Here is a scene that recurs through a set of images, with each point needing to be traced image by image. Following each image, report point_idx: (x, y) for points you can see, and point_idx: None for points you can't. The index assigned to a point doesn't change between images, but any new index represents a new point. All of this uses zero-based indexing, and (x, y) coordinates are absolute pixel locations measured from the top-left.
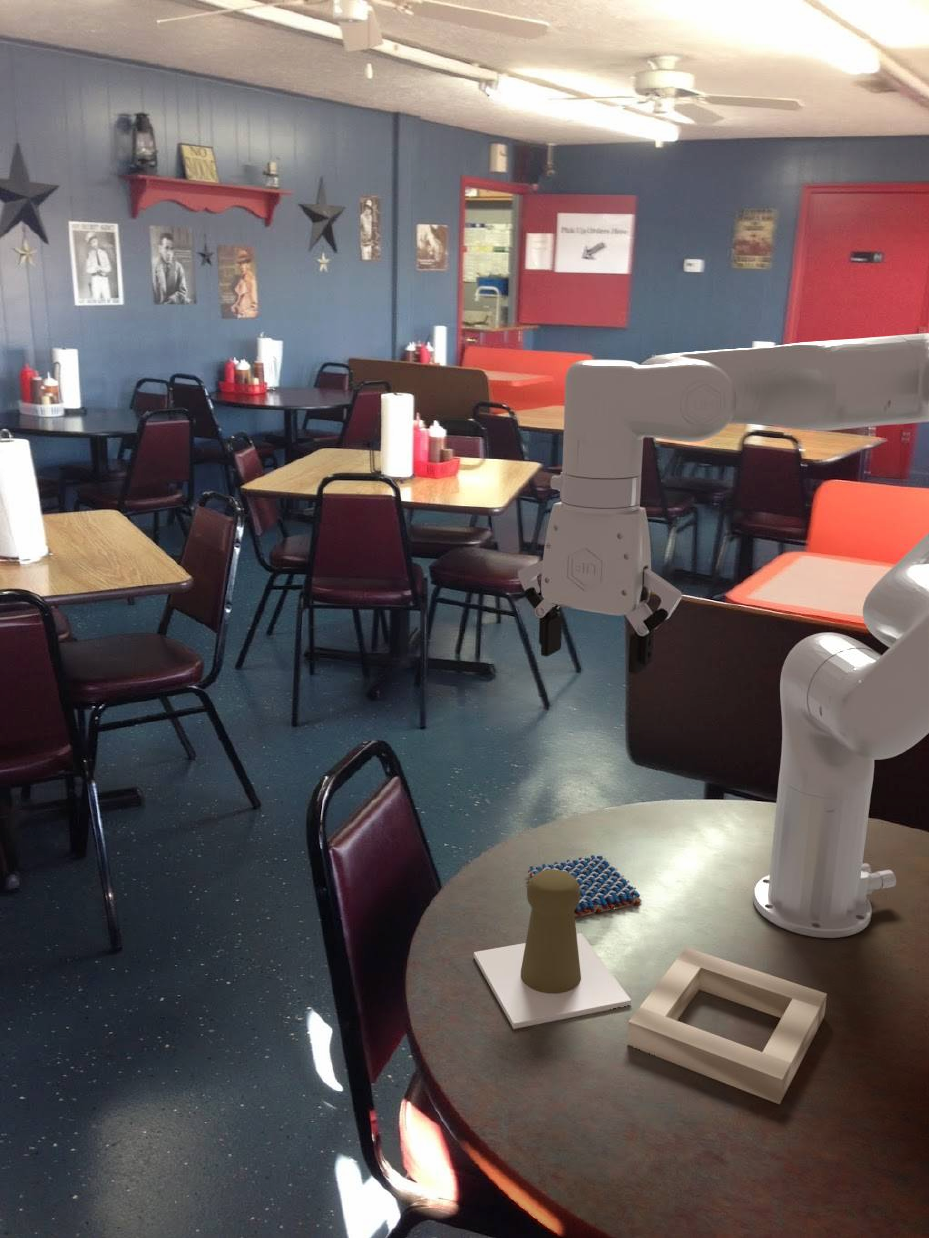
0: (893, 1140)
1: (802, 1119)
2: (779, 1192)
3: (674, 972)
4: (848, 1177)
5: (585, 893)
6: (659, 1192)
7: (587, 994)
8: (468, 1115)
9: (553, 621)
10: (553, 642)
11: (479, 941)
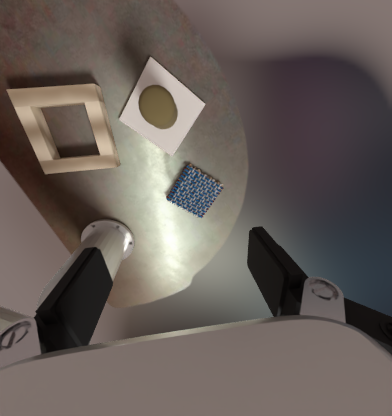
0: None
1: (4, 89)
2: None
3: (106, 142)
4: None
5: (188, 185)
6: None
7: (138, 109)
8: None
9: (277, 287)
10: (256, 256)
11: (210, 119)
